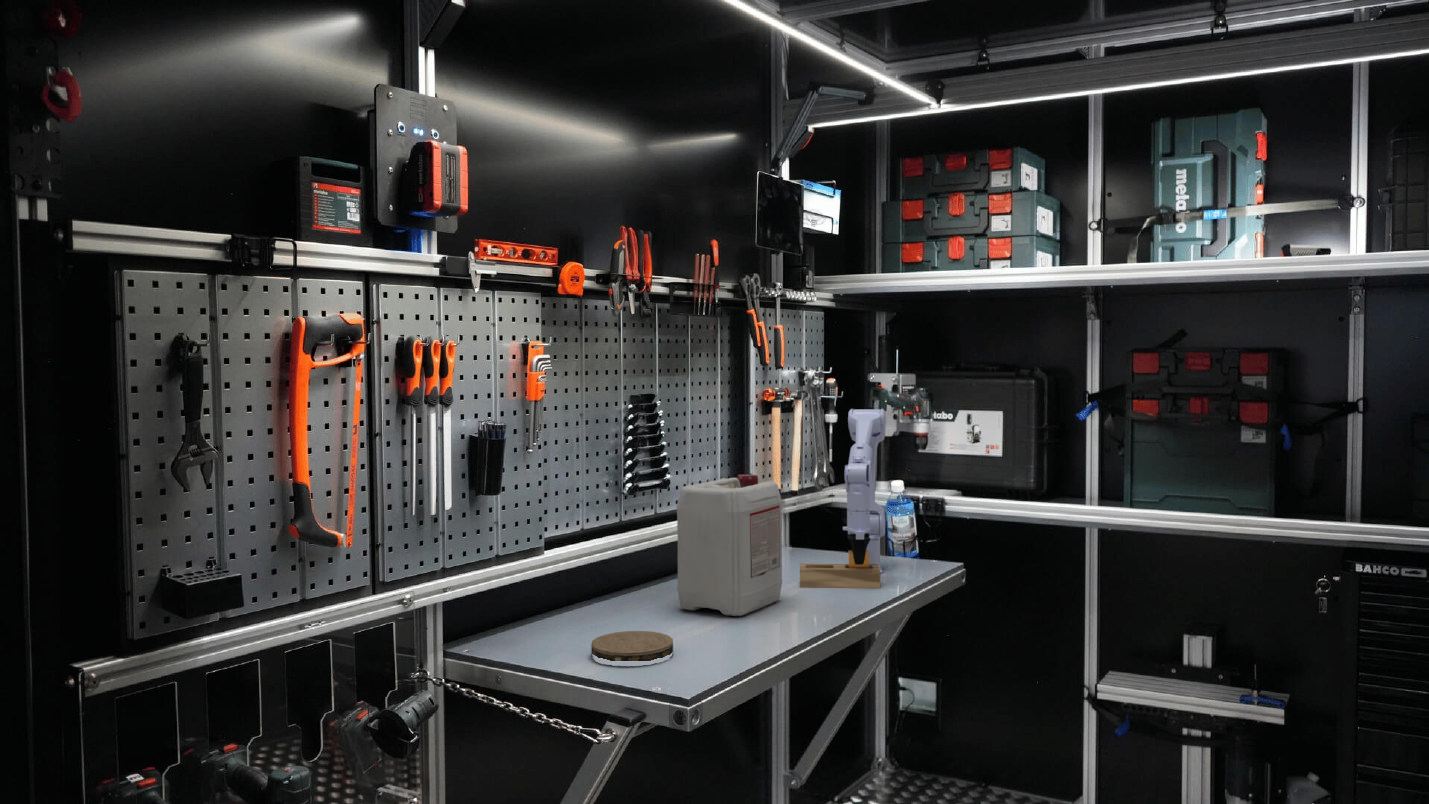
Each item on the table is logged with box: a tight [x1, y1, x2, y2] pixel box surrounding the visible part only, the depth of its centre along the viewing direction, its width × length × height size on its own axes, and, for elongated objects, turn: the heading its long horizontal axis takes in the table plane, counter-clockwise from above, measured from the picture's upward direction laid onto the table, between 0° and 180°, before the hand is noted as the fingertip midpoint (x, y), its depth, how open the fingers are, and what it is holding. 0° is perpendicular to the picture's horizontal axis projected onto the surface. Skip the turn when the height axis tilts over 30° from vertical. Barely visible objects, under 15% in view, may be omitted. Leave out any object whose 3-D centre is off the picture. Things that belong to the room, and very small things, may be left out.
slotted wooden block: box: [799, 563, 881, 589], centre depth 258 cm, size 8×20×4 cm, turn 85°
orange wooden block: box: [848, 549, 869, 568], centre depth 258 cm, size 2×5×7 cm, turn 85°
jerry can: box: [676, 474, 783, 617], centre depth 237 cm, size 24×19×30 cm
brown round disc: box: [590, 630, 674, 661], centre depth 197 cm, size 16×16×3 cm
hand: (858, 563), depth 258 cm, fingers closed on orange wooden block, 2 cm apart
